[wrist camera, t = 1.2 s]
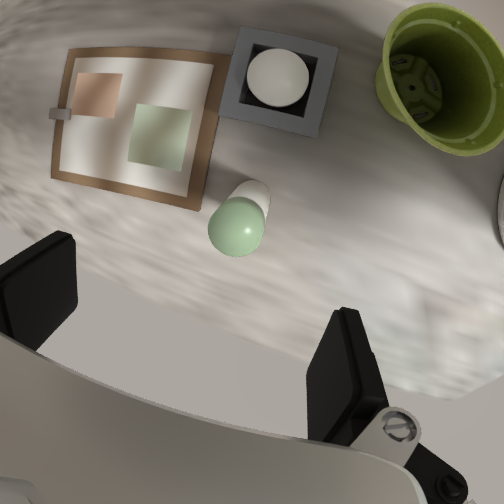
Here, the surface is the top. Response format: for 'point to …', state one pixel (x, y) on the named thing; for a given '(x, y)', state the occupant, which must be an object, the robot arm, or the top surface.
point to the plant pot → (444, 78)
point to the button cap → (278, 77)
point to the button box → (236, 109)
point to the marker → (240, 220)
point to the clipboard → (139, 121)
